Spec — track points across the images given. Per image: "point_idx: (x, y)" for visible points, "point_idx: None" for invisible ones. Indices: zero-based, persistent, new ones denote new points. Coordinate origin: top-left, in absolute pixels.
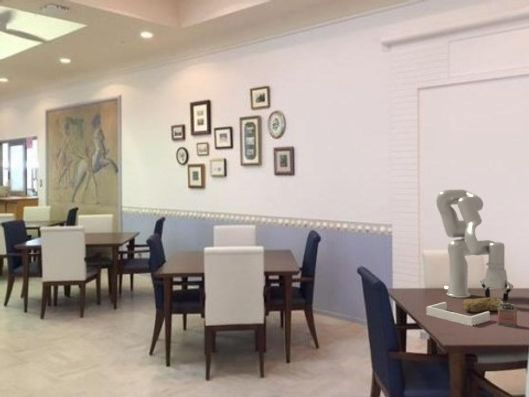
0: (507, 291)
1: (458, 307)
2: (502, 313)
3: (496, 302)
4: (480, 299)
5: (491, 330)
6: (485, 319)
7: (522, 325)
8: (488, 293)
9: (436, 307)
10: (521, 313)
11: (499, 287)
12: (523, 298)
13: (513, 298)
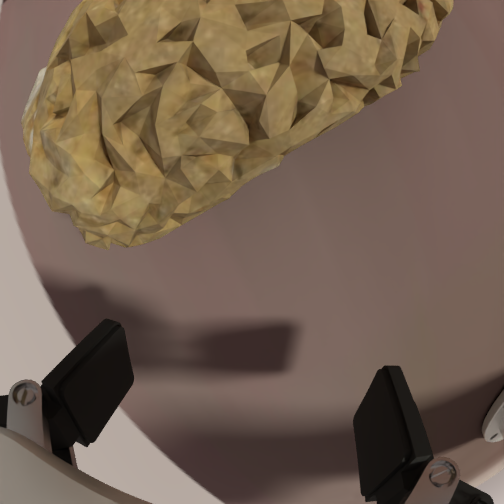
0: (7, 405)
1: (489, 21)
2: None
3: (64, 27)
4: None
5: None
6: None
7: (4, 8)
8: (372, 439)
9: None
10: (22, 206)
11: (6, 469)
12: (222, 500)
13: (256, 495)
